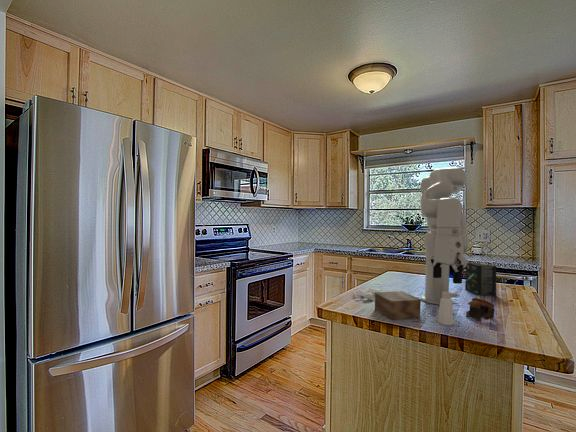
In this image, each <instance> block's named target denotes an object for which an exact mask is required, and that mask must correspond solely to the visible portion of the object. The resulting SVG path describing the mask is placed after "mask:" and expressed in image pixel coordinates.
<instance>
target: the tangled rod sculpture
mask: <svg viewBox="0 0 576 432" xmlns="http://www.w3.org/2000/svg"><path fill="white" fill-rule="evenodd" d="M374 292H383V289H378V288H375V287H370V288H363V289H356V291H354V292H353V293H354V295H355V296H360V297H362V298H365V299H366V300H367V301H373V300H375V294H374Z"/></svg>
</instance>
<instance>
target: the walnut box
mask: <svg viewBox="0 0 576 432" xmlns="http://www.w3.org/2000/svg"><path fill="white" fill-rule="evenodd" d="M374 294H375V295H374V298H375V299H374V311H376V312H378V313H380V314H381V315H382V316H384V317H386V319H390V320H391V321H396V320H411V319H421V303H422V300H421V298H419V297H416V296H414V295H412V294H410V293H407V292H405V291H402V290H397V291H395V290H394V291H393V290H392V291H381V292H374Z"/></svg>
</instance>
